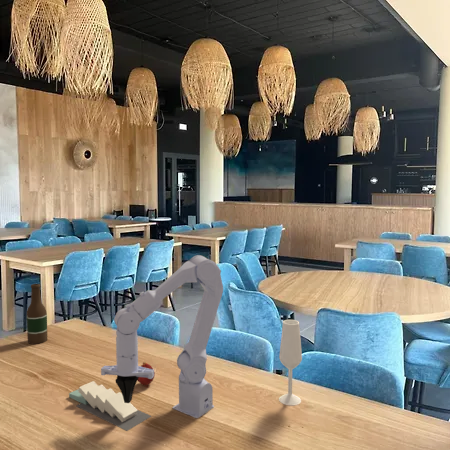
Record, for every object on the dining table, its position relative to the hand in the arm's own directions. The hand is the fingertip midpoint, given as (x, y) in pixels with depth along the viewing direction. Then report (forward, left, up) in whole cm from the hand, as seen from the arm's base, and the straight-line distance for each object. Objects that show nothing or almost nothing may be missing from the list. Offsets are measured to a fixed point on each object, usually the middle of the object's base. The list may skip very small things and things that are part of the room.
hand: (128, 401), depth 118 cm
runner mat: (+6, 0, -5) cm, 8 cm away
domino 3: (+7, 0, -4) cm, 8 cm away
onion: (+11, -17, -5) cm, 21 cm away
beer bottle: (+77, -19, -5) cm, 80 cm away
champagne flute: (-31, -36, -5) cm, 48 cm away
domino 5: (-1, 0, -4) cm, 4 cm away
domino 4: (+3, 0, -4) cm, 5 cm away
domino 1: (+16, 0, -4) cm, 16 cm away
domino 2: (+11, 0, -4) cm, 12 cm away
